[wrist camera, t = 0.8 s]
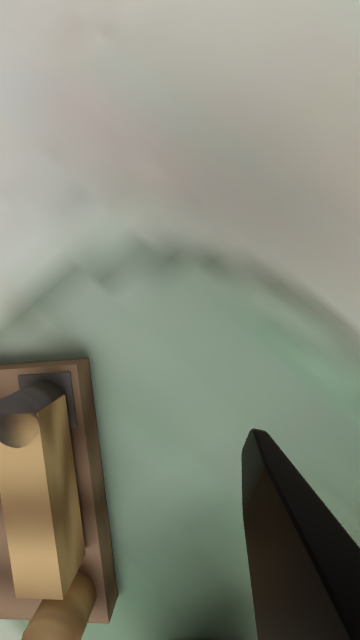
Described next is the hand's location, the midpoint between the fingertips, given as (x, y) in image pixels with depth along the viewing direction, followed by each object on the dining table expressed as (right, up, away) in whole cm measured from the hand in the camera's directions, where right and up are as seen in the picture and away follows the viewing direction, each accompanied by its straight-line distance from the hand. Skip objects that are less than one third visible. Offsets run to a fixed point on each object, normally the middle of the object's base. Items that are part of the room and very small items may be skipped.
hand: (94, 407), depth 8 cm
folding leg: (-7, -8, +13) cm, 17 cm away
